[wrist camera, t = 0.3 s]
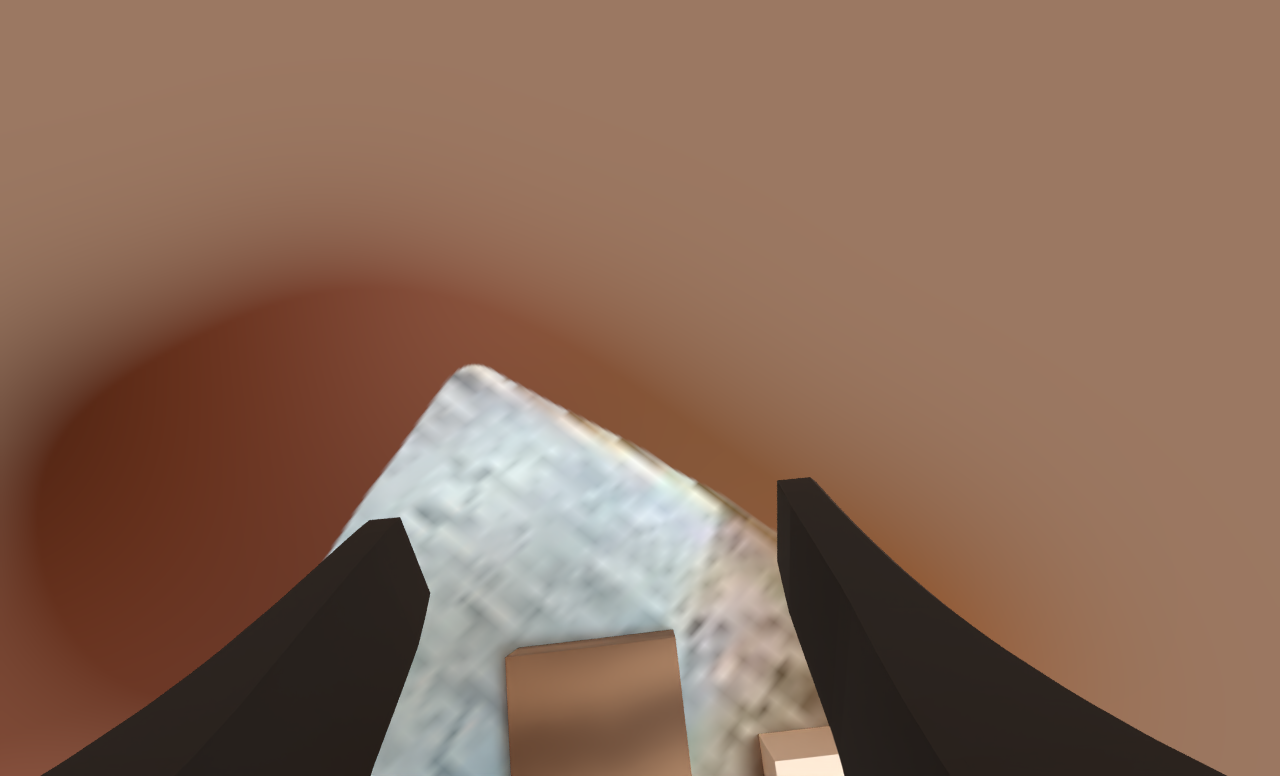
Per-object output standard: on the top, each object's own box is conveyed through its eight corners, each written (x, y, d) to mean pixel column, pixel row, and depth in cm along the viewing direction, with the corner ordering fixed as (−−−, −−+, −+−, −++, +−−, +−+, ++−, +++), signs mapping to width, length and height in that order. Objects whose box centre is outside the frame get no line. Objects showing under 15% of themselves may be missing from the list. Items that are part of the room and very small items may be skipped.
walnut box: (693, 804, 36) (698, 834, 32) (529, 824, 36) (514, 857, 32) (672, 628, 39) (675, 637, 35) (519, 646, 39) (505, 657, 35)
